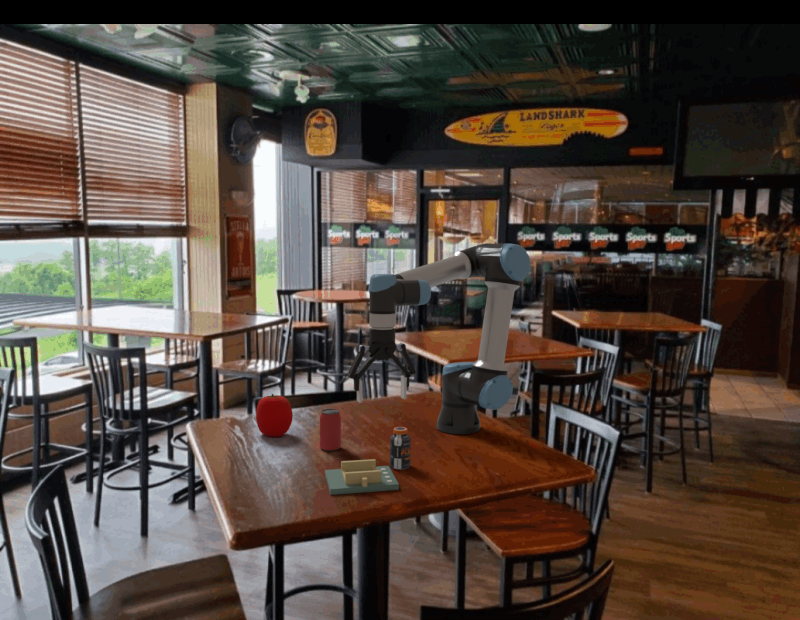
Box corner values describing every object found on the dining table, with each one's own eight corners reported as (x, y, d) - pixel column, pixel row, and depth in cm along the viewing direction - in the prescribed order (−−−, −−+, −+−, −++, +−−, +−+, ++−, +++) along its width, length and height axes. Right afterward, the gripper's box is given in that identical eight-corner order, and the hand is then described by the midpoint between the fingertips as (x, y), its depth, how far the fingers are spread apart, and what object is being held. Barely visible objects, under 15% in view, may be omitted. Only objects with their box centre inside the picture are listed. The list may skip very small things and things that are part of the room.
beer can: (337, 452, 199) (337, 414, 198) (317, 450, 200) (316, 412, 199) (343, 445, 206) (343, 408, 204) (323, 444, 207) (323, 407, 205)
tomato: (248, 437, 213) (247, 395, 211) (267, 428, 223) (267, 388, 222) (281, 442, 208) (280, 399, 207) (299, 432, 219) (299, 391, 217)
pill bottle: (403, 471, 183) (403, 432, 182) (385, 467, 186) (386, 429, 185) (414, 465, 188) (414, 427, 187) (396, 461, 191) (397, 424, 190)
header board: (388, 470, 184) (388, 455, 183) (398, 489, 170) (399, 473, 169) (324, 475, 180) (324, 459, 179) (330, 494, 166) (330, 478, 166)
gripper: (417, 324, 194) (416, 393, 196) (336, 327, 185) (336, 400, 187) (427, 327, 187) (426, 399, 189) (344, 331, 178) (344, 406, 180)
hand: (381, 400), depth 188 cm, fingers open, 13 cm apart
